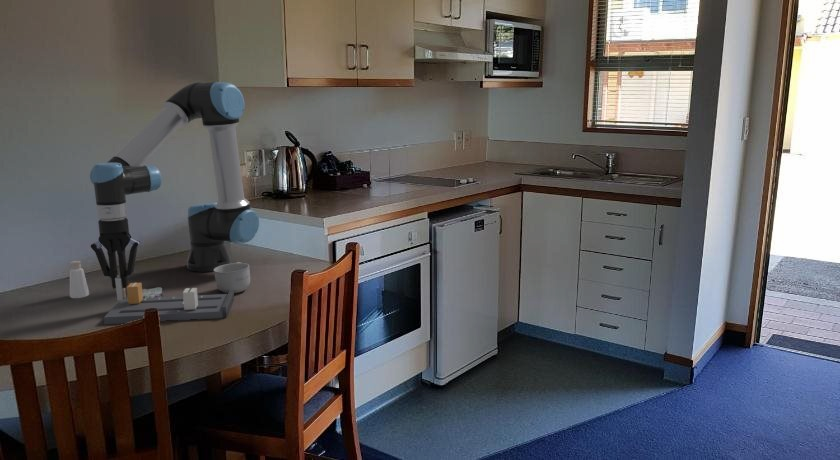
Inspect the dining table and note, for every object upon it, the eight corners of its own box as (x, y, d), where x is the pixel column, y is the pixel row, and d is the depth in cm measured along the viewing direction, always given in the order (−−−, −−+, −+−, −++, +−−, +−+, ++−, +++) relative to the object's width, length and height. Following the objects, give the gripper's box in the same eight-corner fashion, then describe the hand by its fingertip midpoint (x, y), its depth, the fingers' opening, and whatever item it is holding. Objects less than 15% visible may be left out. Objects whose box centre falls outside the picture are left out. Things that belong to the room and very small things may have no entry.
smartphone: (135, 304, 189) (137, 289, 203) (136, 308, 189) (138, 292, 203) (162, 301, 192) (163, 286, 205) (163, 305, 192) (163, 289, 206)
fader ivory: (187, 305, 182) (185, 288, 181) (198, 304, 183) (196, 287, 182) (184, 309, 178) (182, 292, 177) (195, 309, 179) (194, 291, 178)
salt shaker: (65, 297, 197) (61, 262, 195) (80, 292, 202) (76, 258, 200) (78, 299, 196) (74, 264, 193) (93, 294, 200) (89, 260, 198)
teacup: (241, 297, 197) (239, 272, 195) (208, 295, 199) (206, 270, 197) (261, 284, 210) (259, 260, 209) (230, 282, 212) (228, 258, 211)
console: (122, 305, 190) (121, 295, 189) (234, 299, 194) (233, 289, 193) (104, 324, 174) (103, 313, 173) (226, 317, 179) (225, 306, 178)
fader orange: (132, 299, 188) (130, 282, 187) (143, 299, 188) (141, 282, 187) (128, 303, 184) (126, 286, 183) (139, 303, 184) (137, 286, 183)
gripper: (83, 221, 176) (93, 304, 181) (133, 220, 178) (141, 301, 183) (92, 216, 183) (102, 295, 188) (140, 215, 185) (148, 293, 190)
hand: (121, 298), depth 185 cm, fingers closed
